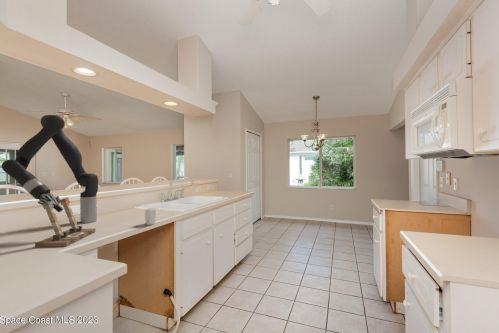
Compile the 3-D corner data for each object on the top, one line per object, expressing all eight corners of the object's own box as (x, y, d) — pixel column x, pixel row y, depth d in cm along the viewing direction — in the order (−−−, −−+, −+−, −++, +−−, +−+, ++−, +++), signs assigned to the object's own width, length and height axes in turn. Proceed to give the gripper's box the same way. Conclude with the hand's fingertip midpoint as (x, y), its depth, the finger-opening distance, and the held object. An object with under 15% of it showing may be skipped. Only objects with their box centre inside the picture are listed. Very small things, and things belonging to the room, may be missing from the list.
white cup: (143, 225, 148) (143, 210, 148) (145, 222, 156) (145, 208, 156) (156, 224, 150) (156, 209, 150) (158, 221, 158) (158, 207, 158)
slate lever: (60, 237, 116) (46, 202, 116) (65, 235, 117) (52, 200, 116) (55, 239, 113) (41, 203, 113) (61, 237, 114) (47, 201, 113)
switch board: (69, 232, 132) (69, 224, 132) (95, 232, 134) (95, 224, 134) (35, 247, 108) (35, 237, 108) (66, 246, 110) (66, 237, 110)
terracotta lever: (75, 230, 128) (63, 199, 128) (80, 229, 129) (68, 197, 128) (72, 232, 125) (59, 200, 125) (77, 230, 126) (64, 198, 125)
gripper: (31, 184, 119) (57, 208, 120) (51, 182, 132) (74, 203, 133) (20, 195, 118) (46, 218, 119) (41, 192, 131) (64, 213, 133)
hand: (61, 210), depth 126 cm, fingers closed
